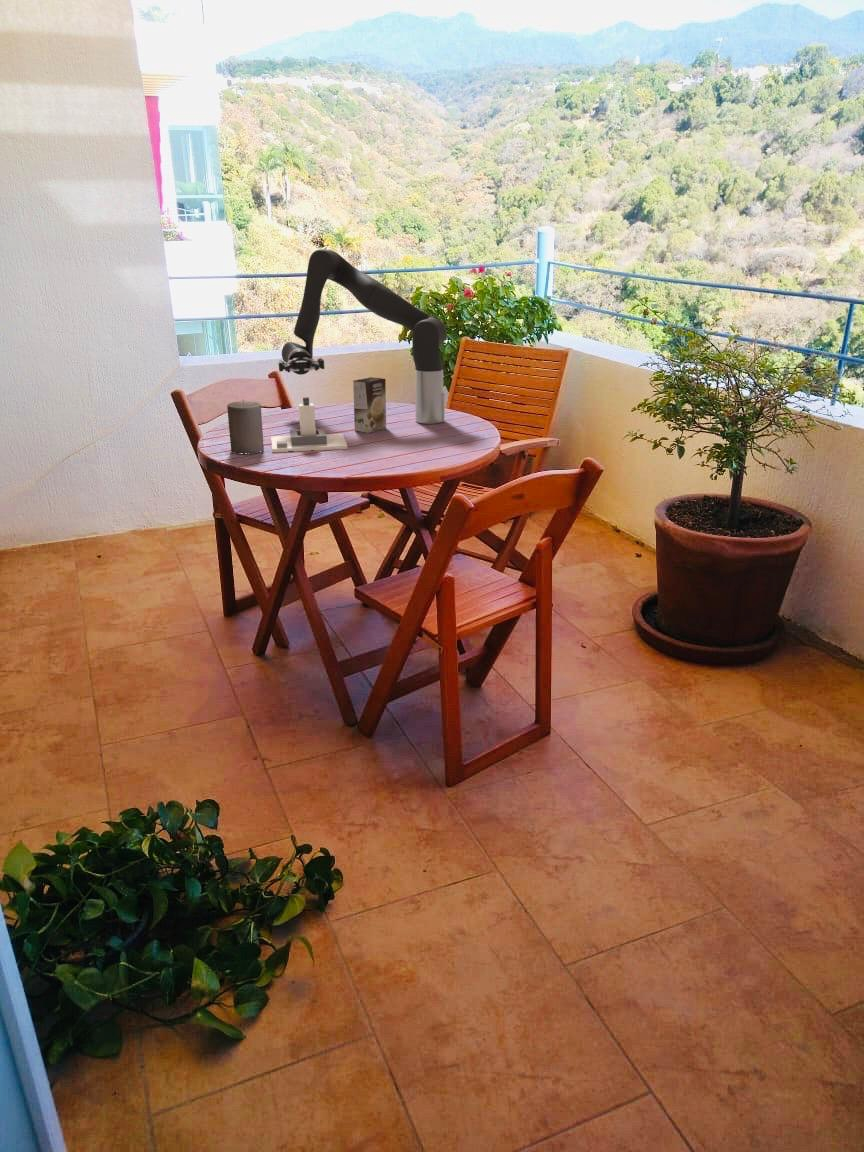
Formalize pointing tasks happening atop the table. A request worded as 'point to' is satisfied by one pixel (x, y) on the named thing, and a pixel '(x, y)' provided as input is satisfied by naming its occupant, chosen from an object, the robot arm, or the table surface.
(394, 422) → the table surface
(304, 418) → the plug
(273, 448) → the socket dock
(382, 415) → the coffee box
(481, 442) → the table surface
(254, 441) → the pillar candle
